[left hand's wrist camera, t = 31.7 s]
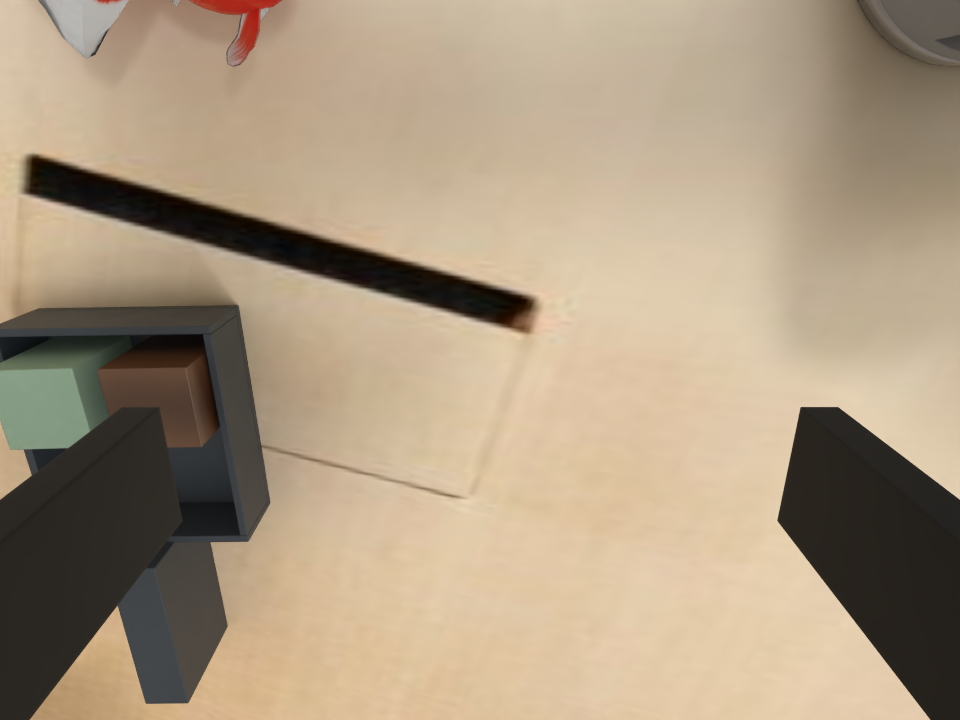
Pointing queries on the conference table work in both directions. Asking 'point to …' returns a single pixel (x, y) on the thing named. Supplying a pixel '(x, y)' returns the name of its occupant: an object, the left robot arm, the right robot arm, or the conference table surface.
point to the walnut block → (166, 386)
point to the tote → (177, 489)
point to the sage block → (56, 390)
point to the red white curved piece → (97, 3)
